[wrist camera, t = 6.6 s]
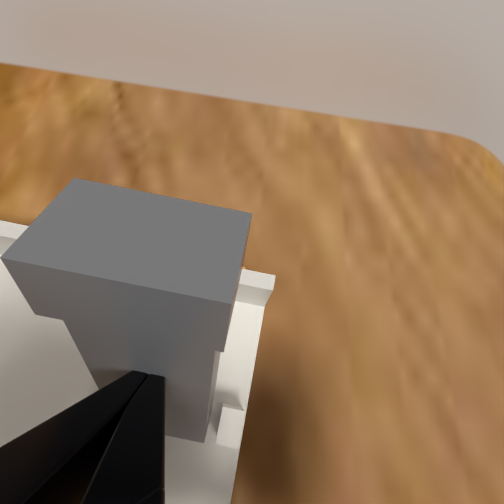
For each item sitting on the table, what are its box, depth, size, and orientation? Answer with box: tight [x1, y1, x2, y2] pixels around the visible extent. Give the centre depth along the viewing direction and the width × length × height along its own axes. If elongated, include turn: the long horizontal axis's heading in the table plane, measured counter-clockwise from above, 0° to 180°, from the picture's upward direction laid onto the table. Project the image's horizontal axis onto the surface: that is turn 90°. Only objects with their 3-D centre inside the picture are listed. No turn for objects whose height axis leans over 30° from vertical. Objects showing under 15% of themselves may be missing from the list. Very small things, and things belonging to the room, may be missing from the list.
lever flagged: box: [0, 178, 252, 443], centre depth 9 cm, size 2×4×10 cm, turn 80°
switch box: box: [0, 220, 275, 504], centre depth 14 cm, size 9×19×6 cm, turn 80°
